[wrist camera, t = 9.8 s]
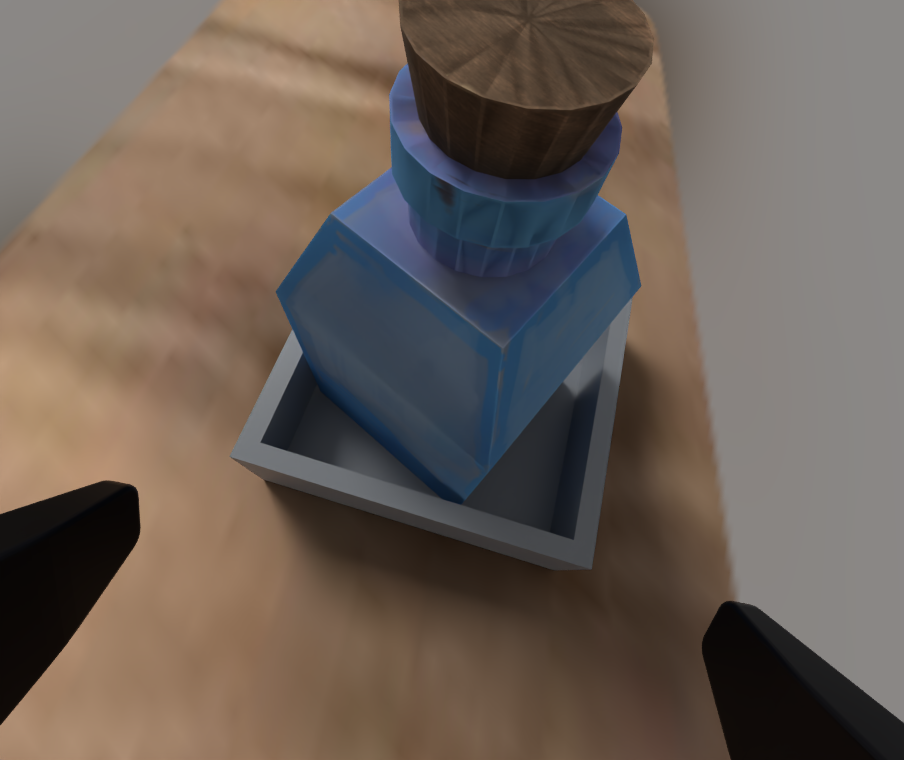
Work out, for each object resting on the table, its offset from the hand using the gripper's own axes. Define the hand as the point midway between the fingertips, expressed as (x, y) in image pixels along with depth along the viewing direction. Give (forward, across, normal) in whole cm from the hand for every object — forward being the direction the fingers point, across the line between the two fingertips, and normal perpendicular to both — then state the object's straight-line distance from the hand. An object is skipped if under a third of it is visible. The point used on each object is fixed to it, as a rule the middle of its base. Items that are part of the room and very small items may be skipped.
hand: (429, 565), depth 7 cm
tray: (+11, 0, +2) cm, 11 cm away
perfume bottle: (+10, 0, +1) cm, 10 cm away
